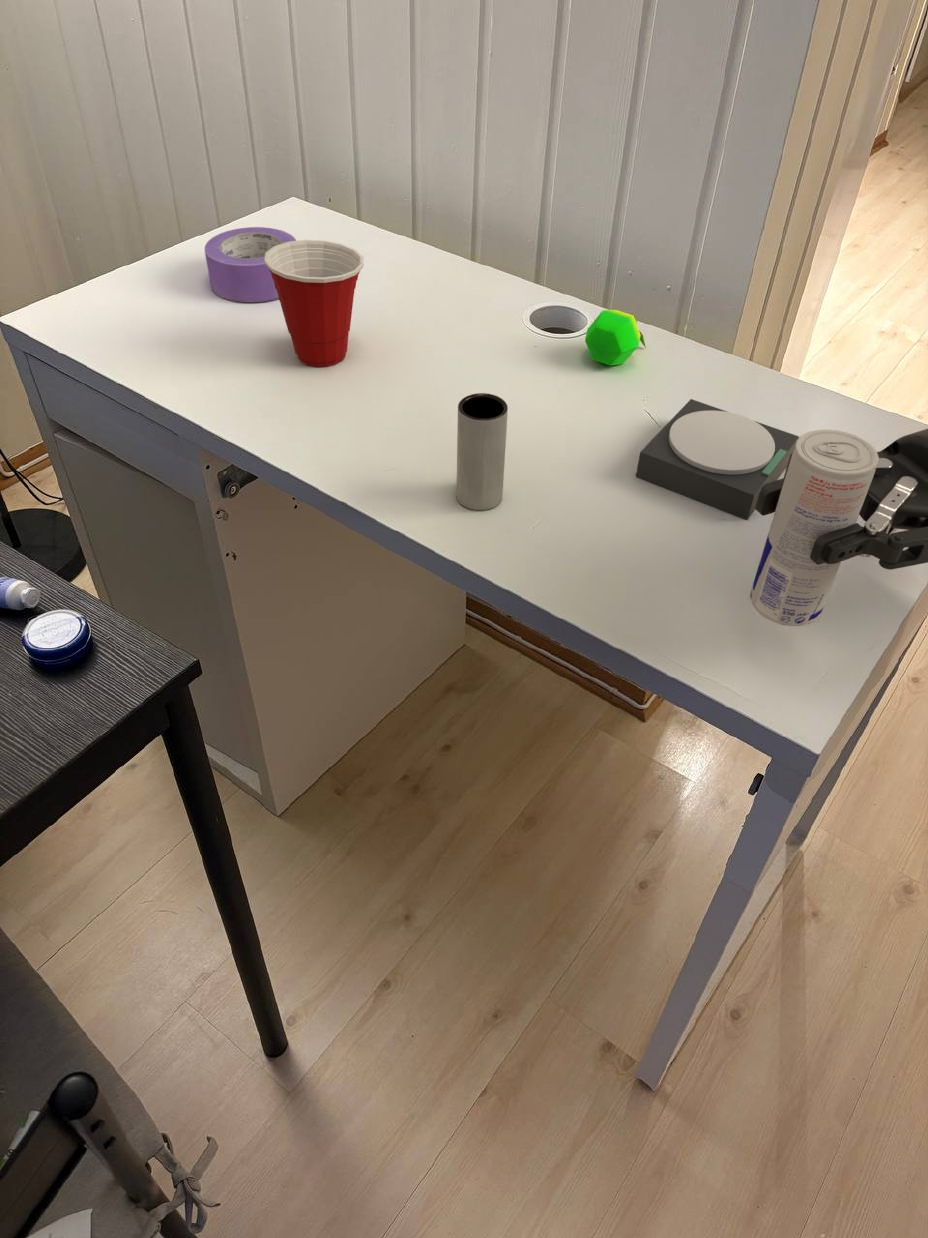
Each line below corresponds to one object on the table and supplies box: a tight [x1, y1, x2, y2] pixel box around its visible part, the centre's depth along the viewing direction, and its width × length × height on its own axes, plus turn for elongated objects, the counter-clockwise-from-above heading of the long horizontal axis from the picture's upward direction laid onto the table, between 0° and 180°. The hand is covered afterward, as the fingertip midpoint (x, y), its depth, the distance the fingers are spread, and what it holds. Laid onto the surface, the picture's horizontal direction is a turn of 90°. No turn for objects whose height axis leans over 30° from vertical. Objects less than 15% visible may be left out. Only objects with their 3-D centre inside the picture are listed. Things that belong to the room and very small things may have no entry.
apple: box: [584, 309, 647, 366], centre depth 111 cm, size 7×6×9 cm
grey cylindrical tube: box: [455, 392, 509, 511], centre depth 90 cm, size 4×4×10 cm
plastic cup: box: [264, 239, 365, 368], centre depth 108 cm, size 11×11×12 cm
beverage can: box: [749, 429, 879, 627], centre depth 71 cm, size 6×6×15 cm
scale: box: [635, 398, 800, 521], centre depth 96 cm, size 12×12×4 cm
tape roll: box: [204, 226, 297, 303], centre depth 123 cm, size 12×12×5 cm
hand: (788, 526), depth 69 cm, fingers closed on beverage can, 5 cm apart
